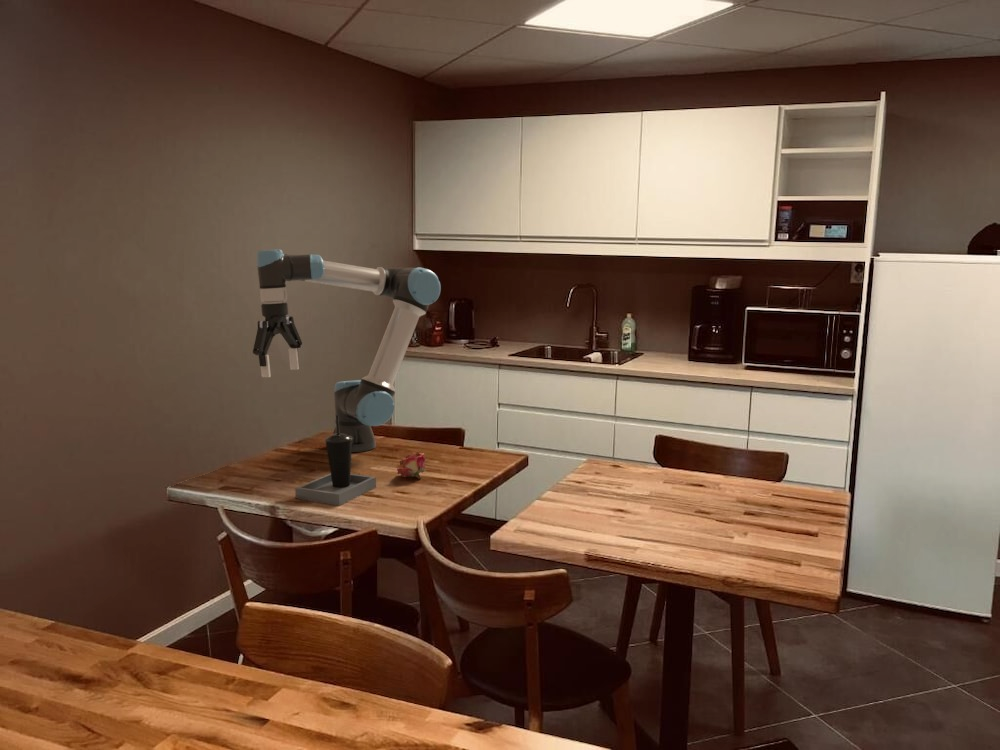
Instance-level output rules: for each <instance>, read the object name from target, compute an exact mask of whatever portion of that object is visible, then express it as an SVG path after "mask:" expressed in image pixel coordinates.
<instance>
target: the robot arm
mask: <svg viewBox="0 0 1000 750" xmlns="http://www.w3.org/2000/svg"><path fill="white" fill-rule="evenodd" d="M256 268H257V269H256V270H257V276H258V284H259V293H260V294H259V295H260V302H261V303H262V304H261V305H260V307H261V315H262V317H264V320H258V321H257V329H256V330H257V331H256V336H255V340H254V343H253V349H252V354H253V355H255V356H258V361H259V366H260V373H261V374H260V375H261V378H271V377H272V376H271V374H272V373H271V366H270V364H271V363H270V355H269V354H268V351H269V349H270V347H271V344H272V342H273V339H274V337H275V336H276V335H278V334H280V335H281V336H282V337H283V339H284V340H285V342H286V343H287V345H288V346H289V348H288V349H287V350H288V359H289V369H290V371H291V370H292V371H295V370H300V367H299V366H300V365H299V350H298V349H299V348H301V347H302V345H303V341H302V339H301V336H300V334H299V332H298V330H297V328H296V324H295V322H294V317H293V316H287V315H289V307H288V303H287V300H288V294H287V285H286V282H291V281H293V282H294V281H301V282H308V283H315V284H322V285H327V286H333V287H334V286H335V287H340V288H347V289H354V290H361V291H367V292H372V293H373V294H374V295H375V296H381V297H385V298H389V299H392V304H393V305H394V309H393V311H392V314H391V316H390V319H389V322H388V324H387V327H386V329H385V332H384V334H383V337H382V339H381V342H380V344H379V347H378V350H377V351H376V354H375V357H374V359H373V362H372V365H371V367H370V370H369V372H368V374H367V375H365V376H363V377H361V379H355V380H345V381H338V382H336V383H335V384H334V390H333V394H334V396H333V397H334V418H335V419H334V420H335V421H334V423H335V424H334V429H333V432H332V434H335V433H337V427H336V415H338V420H339V433H344V434H347V435H351V436H352V441H351V453H360V452H366V451H371V450H374V449H375V448H376V446H377V445H376V444H377V443H376V438H375V435H374V432H373V429H372V427H379V426H382V425H384V424H386V423H388V422H389V421H390V419H391V418H392V417H393V415H394V413H395V409H396V404H395V401H394V399H393V398H394V396H395V394H396V388H395V386H394V383H395V381H396V378H397V375H398V372H399V371H400V369H401V368H400V367H401V365H402V362H403V359H404V358H405V355H406V352H407V350H408V346H409V345H410V343H411V339H412V337H413V334H414V332H415V330H416V327H417V324H418V322H419V320H420V319H419V318H420V317H422V316H425V315H426V314H427V312H428V309H429V306H430V305H432V304H433V303H435V302H436V301H437V300H438V299H439V297H440V295H441V289H442V287H441V286H442V285H441V281H440V280H439V277H438V275H437V274H436V273H435V272H433V271H432V270H431V269H428V268H424V267H382V266H377V267H376V268H371V267H365V266H359V265H353V264H347V263H341V262H335V261H327V260H324V259H323V258H322V256H321V255H320V254H310V253H309V254H287V253H284V251H283V250H282V249H263V250H258V251H257V253H256Z"/></svg>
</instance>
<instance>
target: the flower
mask: <svg viewBox="0 0 1000 750" xmlns="http://www.w3.org/2000/svg"><path fill="white" fill-rule="evenodd" d="M424 455H425V452H423V453H419V451H413V452H412V453H411V454H407V455H406V456H405V457H404V458H401V459H400V460H399V466H401V467H397V469H396V470H397V474H398V475H399V474H400V475H401V476H402V478H409V477H413V476H415V477H417V479H418V480H420V479H422V478H421V476H420V473H422V474H423V473H425V472H426V471H427V469H426V468H425V467H426V466H425V463H426V457H425V456H424Z"/></svg>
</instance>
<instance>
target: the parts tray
mask: <svg viewBox="0 0 1000 750" xmlns="http://www.w3.org/2000/svg"><path fill="white" fill-rule="evenodd" d="M376 477H377V476H371V475H363V474H355V473H350V485H349V486H347V487H342V488H336V487H333V484H332V478H331V472H330V473H328V474H325V475H323V476H320V477H318V478H316V479H314V480H312V481H311V480H310V481H309V482H307V483H303V484H302V485H299V486H297V487H295V488H294V491H295V499H296V498H298V499H297V500H300V499H303V500H302V501H306V500H309V501H308V502H313V501H316V502H315V503H319V502H320V504H326V503H327V504H328V505H331V506H333V505H334V506H341V505H344V504H345V503H347V502H350V501H351V500H353V499H356V498H357V496H358V497H359V496H362V495H364V494H366V493H368V492H369V490H370V491H372V490H374V489H376V488H377V478H376ZM375 487H376V488H375ZM373 488H374V489H373ZM371 489H372V490H371ZM367 491H368V492H367ZM365 492H366V493H365Z"/></svg>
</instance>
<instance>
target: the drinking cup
mask: <svg viewBox="0 0 1000 750" xmlns="http://www.w3.org/2000/svg"><path fill="white" fill-rule="evenodd" d="M336 427H337V433H335V434H333V433H332V434H330V435H328V436H327V437H325V438H324V442H325V445H326V452H327V459H328V465H329V470H330V473H331V478H332V484H333V487H336V488H342V487H347V486H349V485H350V474H352V473H351V469H352V468H351V467H352V452H351V441H352V436H351V435H347V434H344V433H339V420H338V415H336Z"/></svg>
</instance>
